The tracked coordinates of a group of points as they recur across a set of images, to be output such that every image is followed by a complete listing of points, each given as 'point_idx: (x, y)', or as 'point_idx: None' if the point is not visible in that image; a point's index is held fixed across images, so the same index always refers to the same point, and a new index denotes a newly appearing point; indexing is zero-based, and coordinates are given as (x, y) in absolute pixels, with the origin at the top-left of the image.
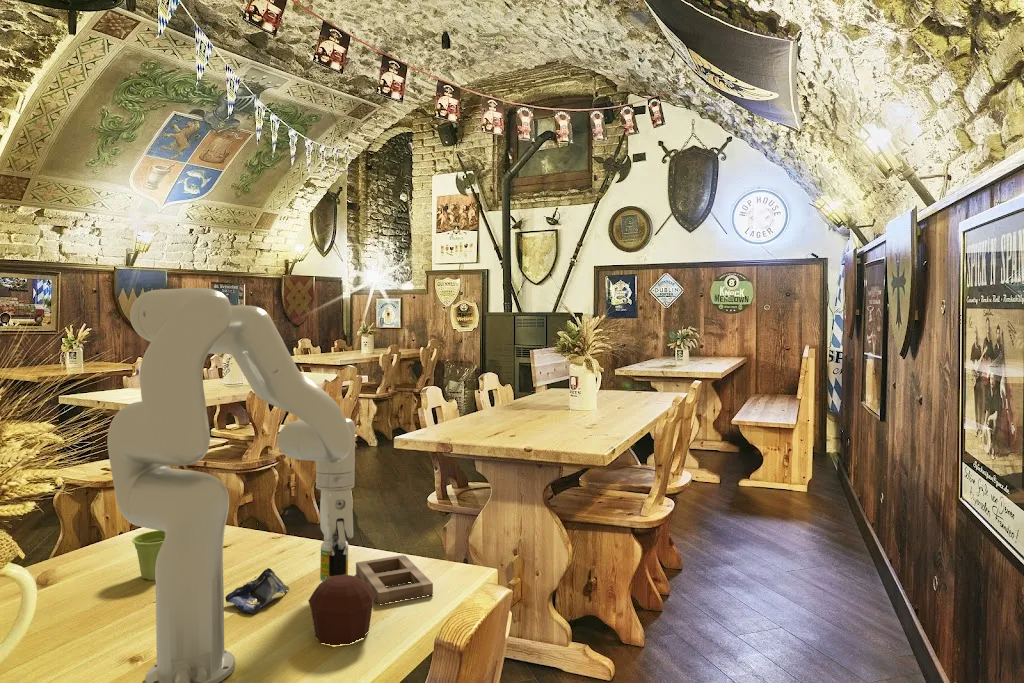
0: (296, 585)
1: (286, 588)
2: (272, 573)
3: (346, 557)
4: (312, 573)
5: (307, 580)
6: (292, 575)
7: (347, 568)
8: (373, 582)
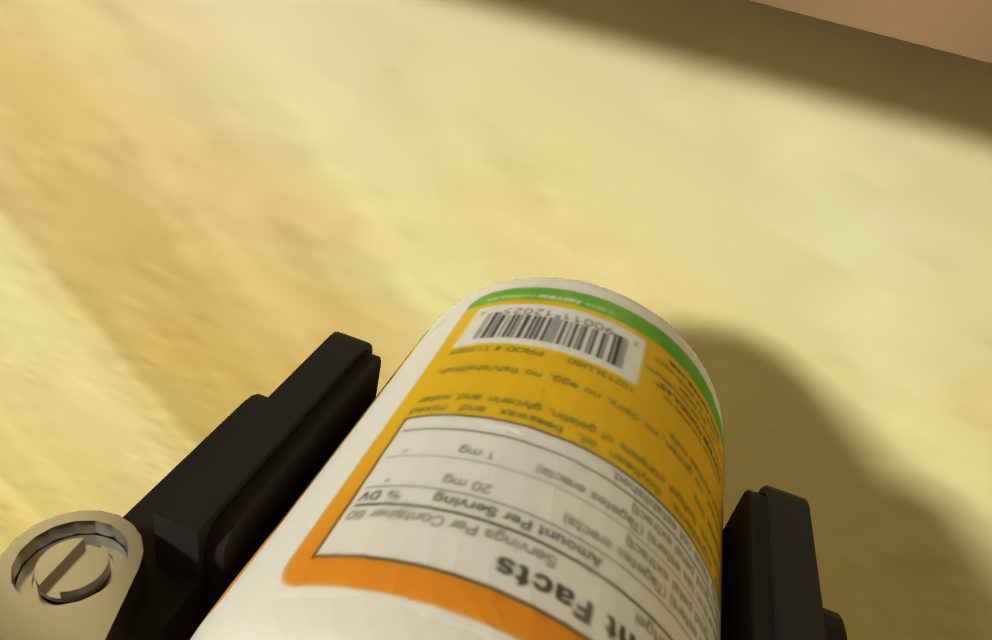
0: (213, 389)
1: None
2: None
3: (683, 582)
4: (11, 190)
5: (147, 292)
6: (15, 315)
7: (671, 407)
8: (968, 14)
